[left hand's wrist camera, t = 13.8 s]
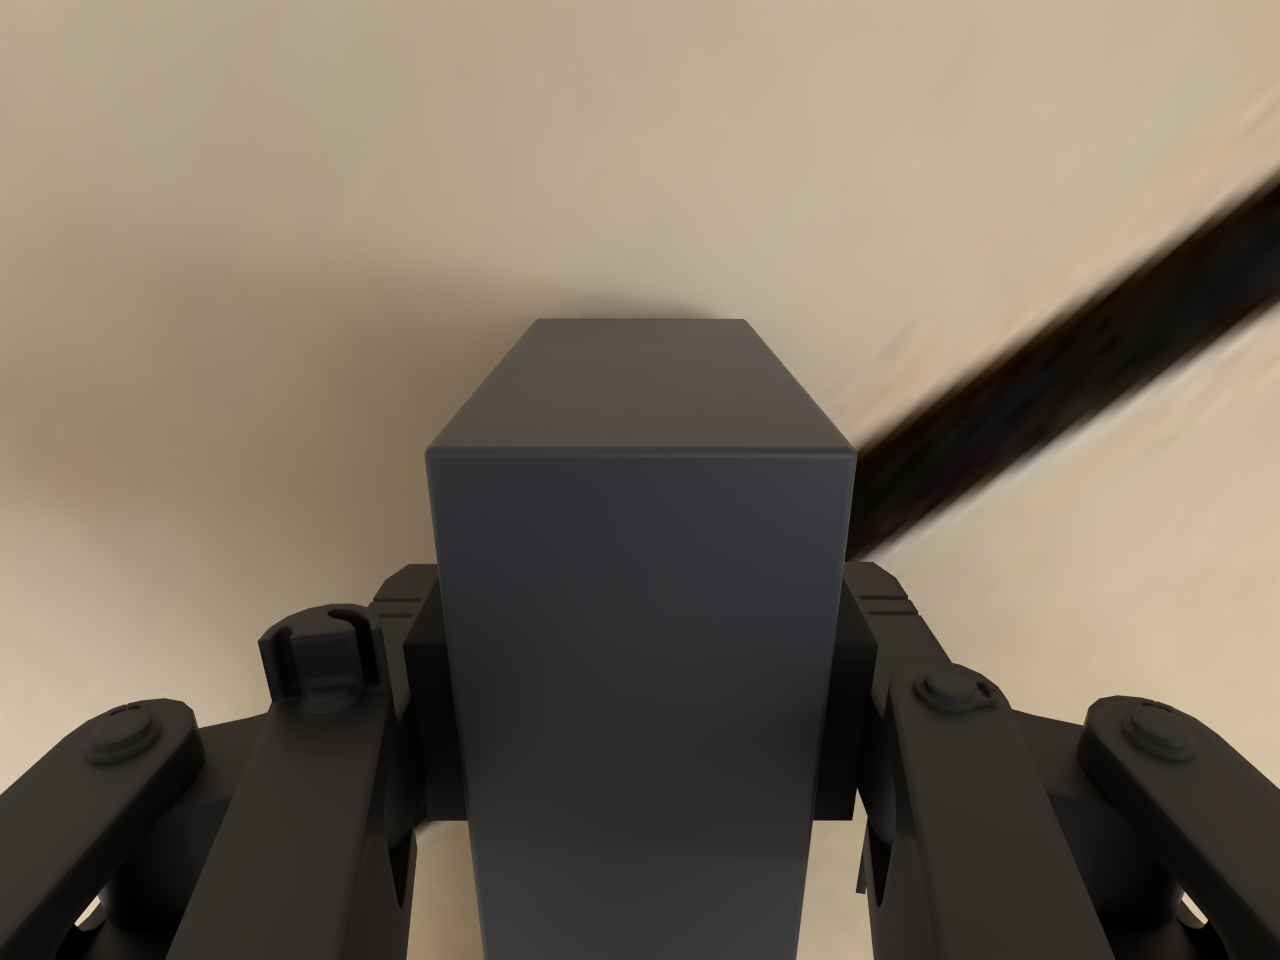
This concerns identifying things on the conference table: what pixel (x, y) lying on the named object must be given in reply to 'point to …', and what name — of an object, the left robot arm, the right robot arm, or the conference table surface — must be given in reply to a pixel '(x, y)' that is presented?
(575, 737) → the rail
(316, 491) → the conference table surface
